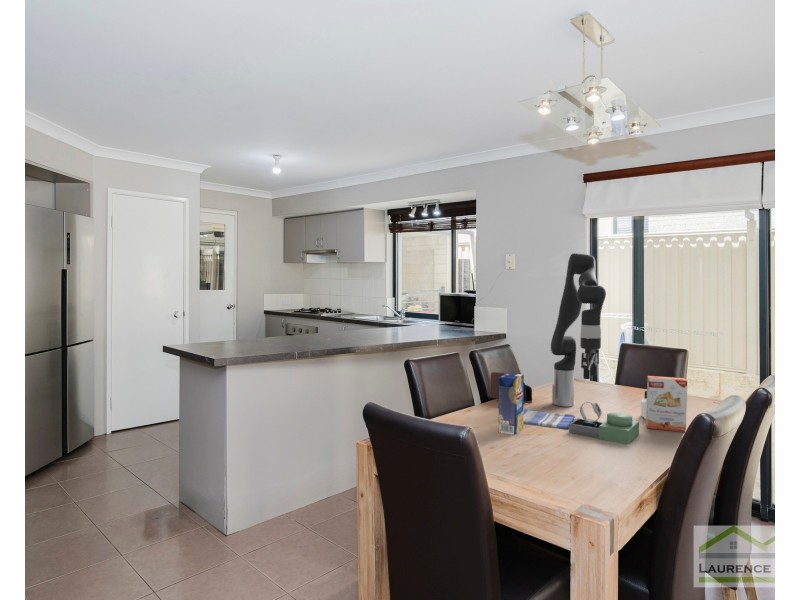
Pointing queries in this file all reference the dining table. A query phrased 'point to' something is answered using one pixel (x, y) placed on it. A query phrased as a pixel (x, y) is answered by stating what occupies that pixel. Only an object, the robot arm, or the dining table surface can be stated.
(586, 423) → the watch
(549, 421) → the dish towel
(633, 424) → the green block with dome
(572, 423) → the frame
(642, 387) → the dining table surface
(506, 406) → the beverage box
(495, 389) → the letter holder
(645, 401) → the medicine bottle
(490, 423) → the dining table surface
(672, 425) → the cracker box
